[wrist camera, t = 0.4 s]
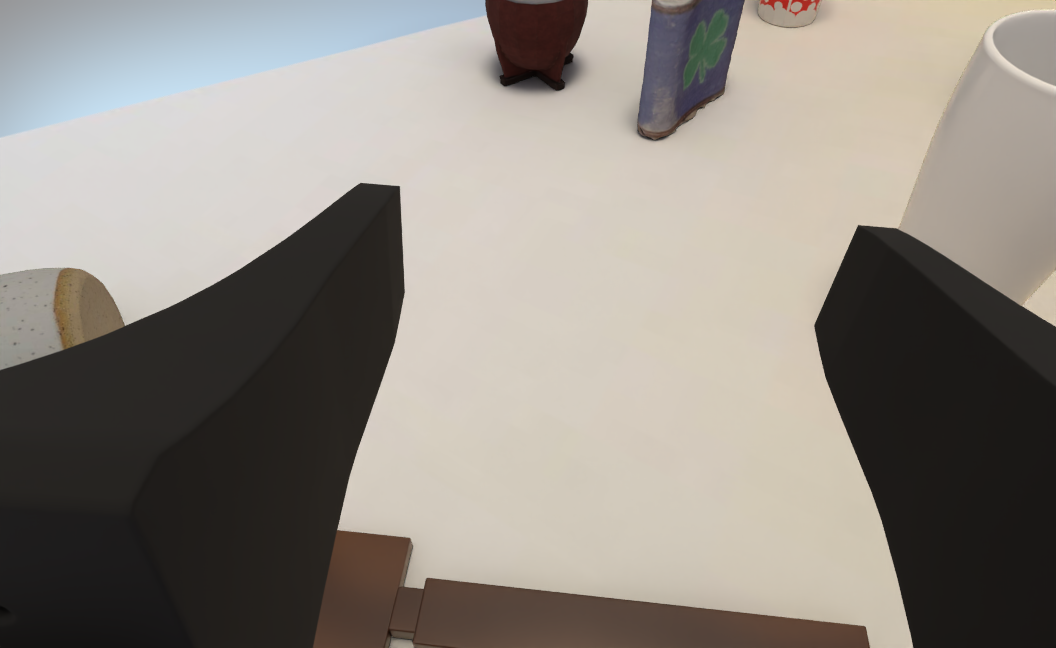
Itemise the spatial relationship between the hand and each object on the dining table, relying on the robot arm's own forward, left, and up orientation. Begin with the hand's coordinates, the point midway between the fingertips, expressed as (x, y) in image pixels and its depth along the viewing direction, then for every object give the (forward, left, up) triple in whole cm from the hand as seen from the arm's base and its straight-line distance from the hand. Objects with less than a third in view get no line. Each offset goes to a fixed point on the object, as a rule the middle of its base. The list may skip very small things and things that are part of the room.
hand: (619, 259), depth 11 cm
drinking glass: (+16, -16, -19) cm, 30 cm away
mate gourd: (+40, +6, -19) cm, 45 cm away
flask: (+36, -5, -19) cm, 41 cm away
